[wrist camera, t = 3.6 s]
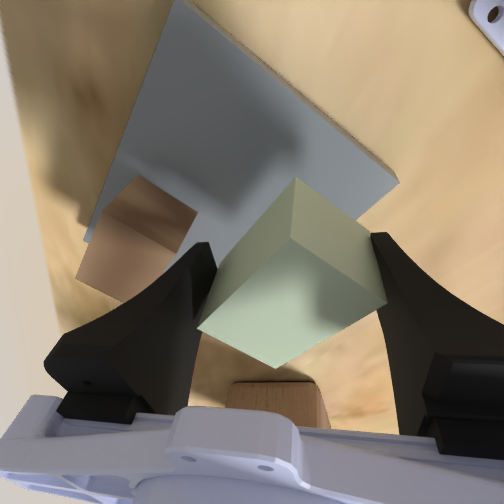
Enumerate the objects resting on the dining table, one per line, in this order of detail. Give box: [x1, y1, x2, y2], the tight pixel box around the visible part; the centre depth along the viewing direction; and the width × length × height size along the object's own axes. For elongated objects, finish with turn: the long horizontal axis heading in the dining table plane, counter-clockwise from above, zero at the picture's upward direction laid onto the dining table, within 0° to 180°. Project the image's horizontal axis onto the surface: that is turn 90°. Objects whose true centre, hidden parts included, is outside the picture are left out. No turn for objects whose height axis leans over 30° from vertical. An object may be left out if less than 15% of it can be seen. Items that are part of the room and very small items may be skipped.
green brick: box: [197, 177, 388, 369], centre depth 13 cm, size 4×6×4 cm, turn 146°
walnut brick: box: [75, 175, 198, 303], centre depth 18 cm, size 4×6×4 cm, turn 146°
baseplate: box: [83, 0, 400, 273], centre depth 19 cm, size 13×16×1 cm
